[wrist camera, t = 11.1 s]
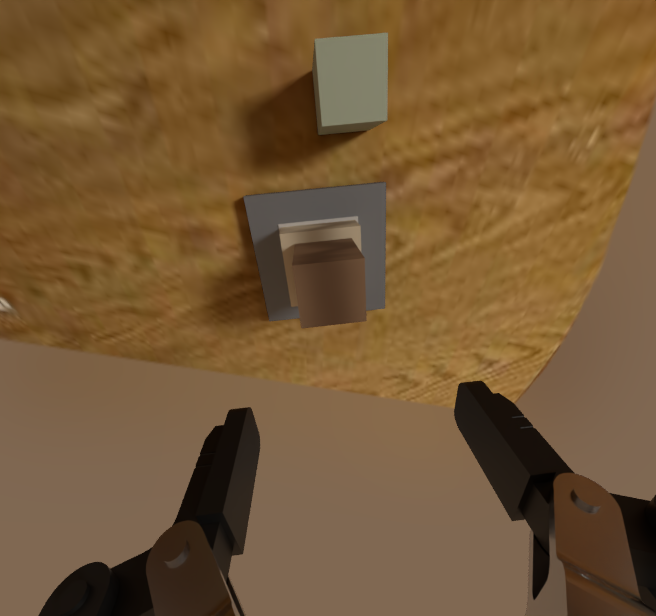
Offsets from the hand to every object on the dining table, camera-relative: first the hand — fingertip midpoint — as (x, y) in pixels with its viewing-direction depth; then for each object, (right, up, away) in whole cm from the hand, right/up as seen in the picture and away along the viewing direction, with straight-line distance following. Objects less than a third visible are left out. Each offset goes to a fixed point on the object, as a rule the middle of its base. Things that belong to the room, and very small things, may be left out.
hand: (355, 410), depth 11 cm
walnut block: (-1, +8, +15) cm, 17 cm away
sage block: (0, +21, +13) cm, 25 cm away
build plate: (-2, +9, +18) cm, 21 cm away
